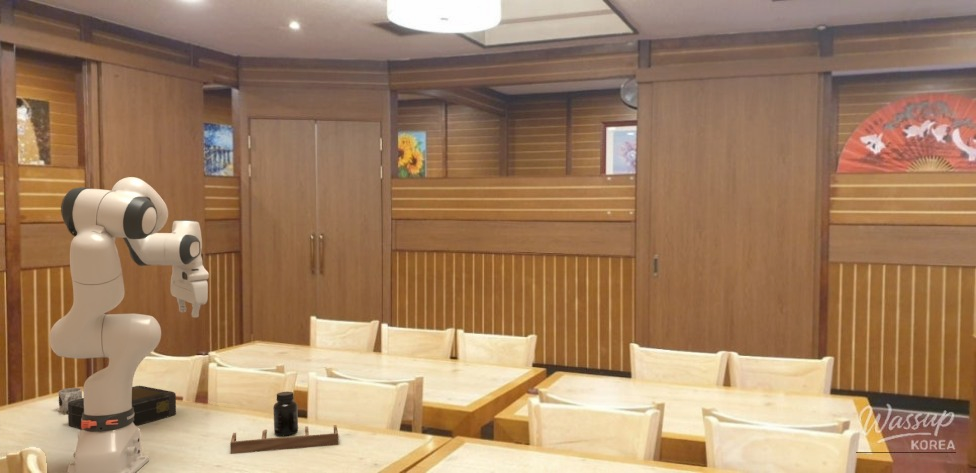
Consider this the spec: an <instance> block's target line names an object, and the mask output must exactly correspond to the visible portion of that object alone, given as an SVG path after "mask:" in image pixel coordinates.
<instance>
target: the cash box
mask: <svg viewBox="0 0 976 473" xmlns="http://www.w3.org/2000/svg"><path fill="white" fill-rule="evenodd" d="M176 394H177V393H176V392H174V391H172V390H167V389H162V388H161V389H160V388H155V387H150V386H145V385H135V386H132V407H133V408H134V421H133V423H134V424H135V426H136V427H138V426H141V425H144V424H148V423H153V422H155V421H158V420H162V419H165V418H166V419H167V418H169V417H172V416H175V415H176V414H177V402H176V400H177V395H176ZM83 412H84V397H82V398H81V399H77V400H73V401H70V402H69V403H68V413H67V417H68V418H67V419H68V426H70V427H72V428H77V429H80V430H83V429H82V428H81V419H82V413H83Z"/></svg>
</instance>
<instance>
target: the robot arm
mask: <svg viewBox="0 0 976 473" xmlns="http://www.w3.org/2000/svg"><path fill="white" fill-rule="evenodd" d="M60 204H61V205H60V214H61V217H62V220H63V223H64V225H65V226H66V228H67V231H68V232H69V233H70V235H71V236H74V237H73V238H72V240H71V242H70V249H69V270H70V276H71V283H72V288H73V289H72V290H73V304H72V306H71V308H70V310H69V311H68V312H67V313H66V314H65V315H64V316H62V317H61V318H59V319H58V320H57V321H56V322H55V323H54V324H53V325H52V327H51V328H50V331H49V336H48V341H49V346H50V349H51V351H53V353H54V354H56V356H58V357H62V358H68V359H77V360H78V359H79V360H80V359H97V358H98V359H99V358H108V359H109V360H108V361H109V363H108V365H107V366H106V367H104V368H103V369H100V370H99V371H97V372H95V373H92V374H91V375H90V376H89V377H87V379H86V380H85V381H84V384H83V388H82V389H83V390H82V393H83V398H84V412H83V413H82V419H81V428H82V429H81V431H79V432H78V434H77V444H76V450H75V452H73V458H74V461H70V463H68V467H67V471H66V473H136V472H138V470H140V469H141V468H143V466H145V465H146V464H147V463H148V462H149V461H150V459H149V458H150V457H149V456H148V455H146V454H143V447H142V446H143V445H142V433H141V429H140V428H139V427H138V426H135V424H134V423H133V421H134V408H133V407H132V387H133V381H134V377H135V374H136V372H137V369H138V367H139V366H140V364H141V363H142V362H143V360H144V359H145V358H146V357H147V356H148V355H150V354H151V353H152V352H153V351H155V350H156V348H157V347H158V346H159V344H160V341H161V338H162V328H161V325H160V323H159V322H158V320H157V319H156V318H155V317H154V316H152V315H148V314H142V313H141V314H140V313H135V312H134V313H133V312H132V313H113V314H106V313H109V312H111V311H112V310H114V309H115V308H117V307H118V305H120V304H121V302H122V301H123V300H124V298H125V294H126V292H125V284H124V276H123V268H122V264H121V259H120V255H119V251H118V248H117V245H116V243H115V242H116V238H122V239H123V241H124V243H125V244H126V246H127V248H128V251H129V256H130V258H131V259H132V261H133V262H134V263H135V264H136V265H137V266H140V267H147V266H171V268H172V269H171V271H172V272H171V273H172V274H171V277H170V294H171V296H172V297H175V298H176V301H177V304H178V311H179V312H180V313H186V312H187V311H188V310H187V306H186V302H187V303H190V304H191V307H192V309H191V310H192V311H191V312H190V315H191V317H192V318H194V319H195V318H199V316H200V313H199V312H200V309H201V306H203V305H206V304H207V302H208V300H209V299H208V298H209V297H208V295H209V293H208V292H209V285H208V284H209V282H208V281H207V280H208V279H209V278H210V274H209V272H208V270H206V268H205V267H204V264H203V256H202V249H203V240H202V238H203V236H202V231H201V226H200V222H198V221H196V220H193V219H176V220H173V221H172V227H171V232H170V233H169V232H159V231H161V230H162V229H163V228H164V226H165V225H166V224H167V221H168V218H169V209H168V206H167V204H166V202H165V201H164V200H163V198H162V197H161V196H160V194H159V193H158V192H157V191H156V189H154V188H153V187H152V186H151V185H150V184H148V182H146V181H144V180H143V179H141V178H139V177H134V176H130V177H129V176H128V177H124V178H122V179H120V180H118V181H117V182H116V183H114V185H113V186H112V188H111V190H110V189H109V190H108V189H102V188H101V189H100V188H91V187H87V186H81V187H75V188H72V189H70V190H69V191H68V192H66V194H65V195H64V197H63V199H62V201H61V203H60Z"/></svg>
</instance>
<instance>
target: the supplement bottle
mask: <svg viewBox="0 0 976 473" xmlns="http://www.w3.org/2000/svg"><path fill="white" fill-rule="evenodd" d="M294 399H295V397H294V392H293V391H282V392H281V391H280V392H277V393H276V401H277V402H275V404H273V433H274V435H275V436H276V437H290V436H296V435H297V433H298V432H299V418H298V412H299V411H298V403H297V402H296V401H295V400H294Z"/></svg>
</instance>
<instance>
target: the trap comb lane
mask: <svg viewBox="0 0 976 473" xmlns="http://www.w3.org/2000/svg"><path fill="white" fill-rule="evenodd" d="M267 432H268V430H267V429H263V430H262V434H261V438H258V439H248V440H247V439H246V440H237V432H233V433H232V436H231V440H230V443H229V444H230V454H231V455H232V454H241V453H242V454H243V453H245V454H246V453H254V452H255V451H257V452H266V451H267V452H268V451H278V450H291V449H292V450H293V449H302V448H315V447H328V446H339V431H338V426H337V424H334V425H333V432H332V433H322V434H321V433H320V434H311V435H310V433H309V426H307V425H306V426H305V427H304V432H305V433H304V434H305V435H304V434H303V435H292V436H287V437H279V436H277V437H267Z"/></svg>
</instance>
